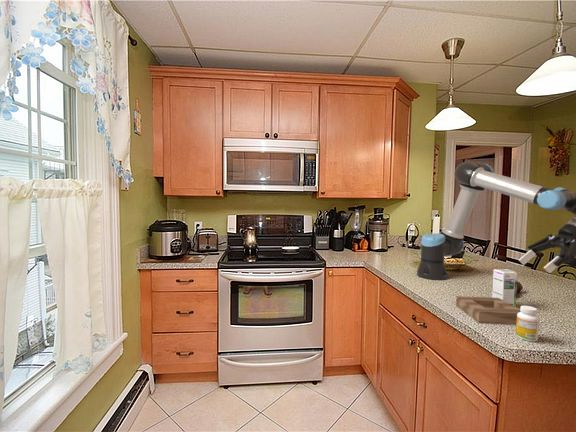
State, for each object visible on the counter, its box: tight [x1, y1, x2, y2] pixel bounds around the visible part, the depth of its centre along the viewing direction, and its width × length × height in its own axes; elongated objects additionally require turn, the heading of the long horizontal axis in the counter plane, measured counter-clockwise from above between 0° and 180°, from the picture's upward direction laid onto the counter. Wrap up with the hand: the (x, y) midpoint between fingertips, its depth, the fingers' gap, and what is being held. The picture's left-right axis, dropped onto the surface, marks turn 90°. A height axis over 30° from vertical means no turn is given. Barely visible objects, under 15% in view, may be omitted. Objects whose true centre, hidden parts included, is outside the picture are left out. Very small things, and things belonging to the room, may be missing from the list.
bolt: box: [516, 281, 524, 295], centre depth 132 cm, size 6×5×15 cm
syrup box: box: [491, 268, 518, 308], centre depth 119 cm, size 6×6×14 cm
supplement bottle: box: [515, 305, 540, 343], centre depth 91 cm, size 5×5×10 cm
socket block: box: [455, 295, 521, 325], centre depth 109 cm, size 16×16×4 cm
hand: (533, 266), depth 117 cm, fingers open, 13 cm apart
